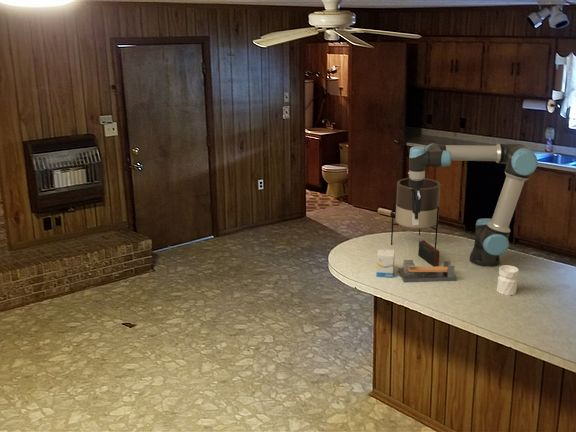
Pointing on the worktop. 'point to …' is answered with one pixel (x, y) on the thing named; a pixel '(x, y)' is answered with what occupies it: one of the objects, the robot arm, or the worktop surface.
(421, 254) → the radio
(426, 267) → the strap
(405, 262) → the keeper
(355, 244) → the worktop surface
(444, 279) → the base
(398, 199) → the planter
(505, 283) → the vase
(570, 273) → the worktop surface
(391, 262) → the ink box
